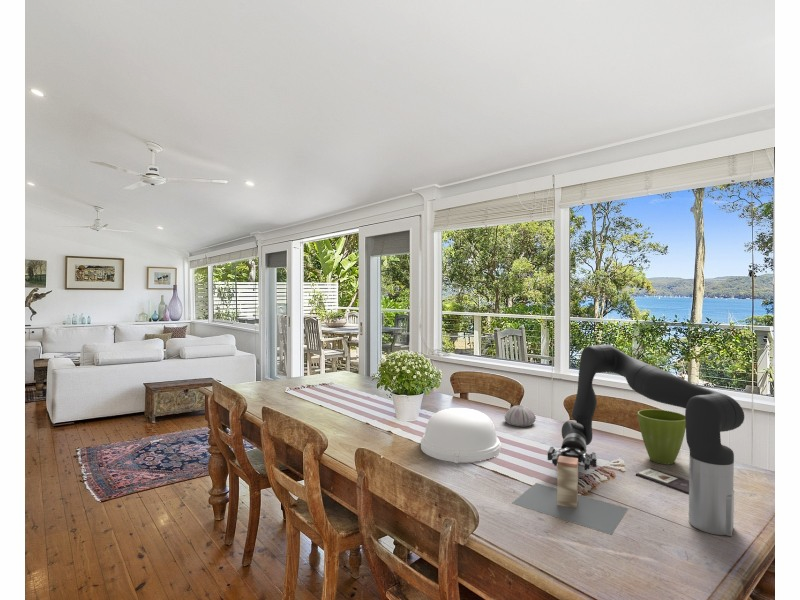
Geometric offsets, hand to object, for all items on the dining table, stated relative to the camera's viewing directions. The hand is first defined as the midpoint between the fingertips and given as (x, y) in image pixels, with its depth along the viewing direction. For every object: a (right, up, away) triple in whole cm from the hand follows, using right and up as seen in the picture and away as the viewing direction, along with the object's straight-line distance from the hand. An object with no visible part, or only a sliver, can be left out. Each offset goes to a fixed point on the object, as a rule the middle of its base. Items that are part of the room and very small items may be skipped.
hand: (570, 464), depth 138 cm
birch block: (-5, -7, -10) cm, 13 cm away
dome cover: (-28, -7, +36) cm, 46 cm away
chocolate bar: (+33, -8, +4) cm, 34 cm away
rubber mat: (-5, -7, -12) cm, 15 cm away
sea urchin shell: (+2, -6, +66) cm, 66 cm away
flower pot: (+40, -7, +22) cm, 46 cm away
